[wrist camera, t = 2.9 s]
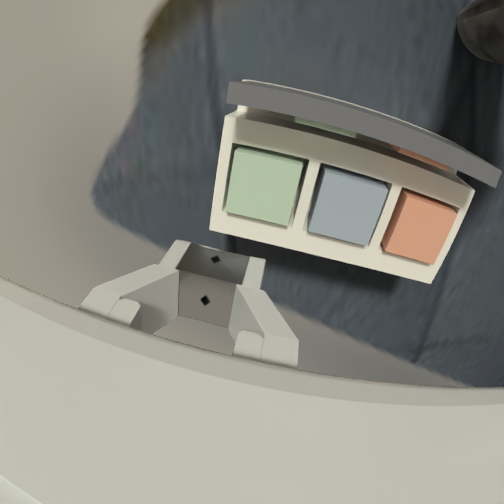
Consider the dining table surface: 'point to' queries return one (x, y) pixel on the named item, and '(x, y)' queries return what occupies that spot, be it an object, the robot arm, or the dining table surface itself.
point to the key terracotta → (418, 226)
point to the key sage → (263, 184)
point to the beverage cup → (483, 29)
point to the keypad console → (347, 157)
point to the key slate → (346, 205)
